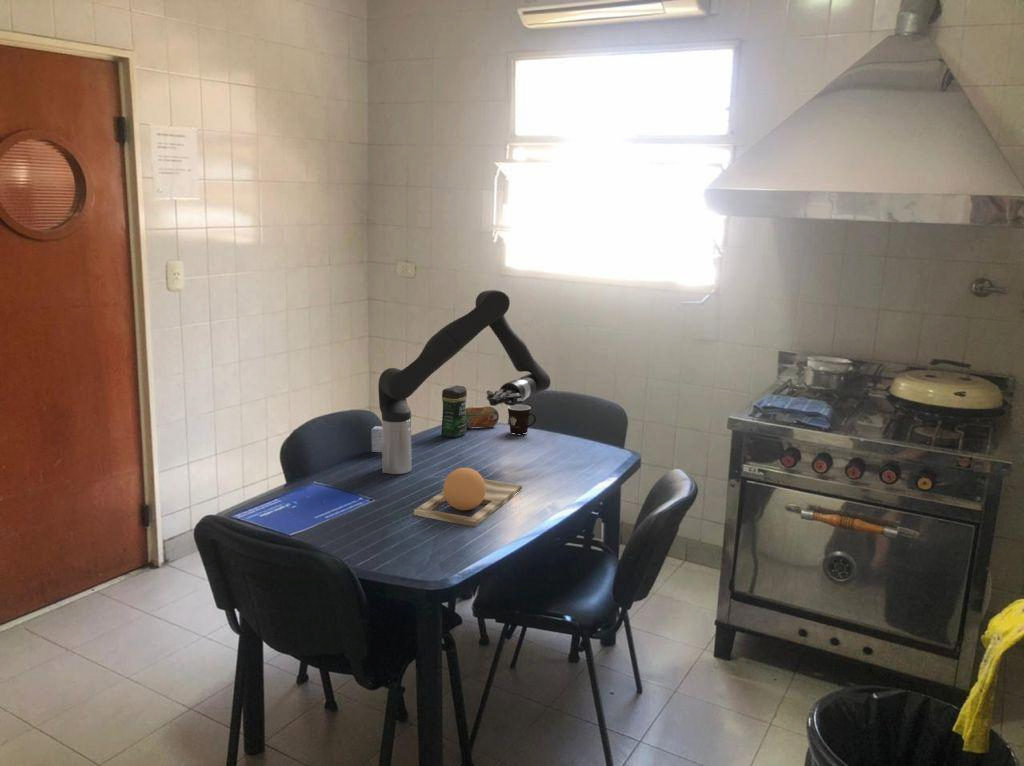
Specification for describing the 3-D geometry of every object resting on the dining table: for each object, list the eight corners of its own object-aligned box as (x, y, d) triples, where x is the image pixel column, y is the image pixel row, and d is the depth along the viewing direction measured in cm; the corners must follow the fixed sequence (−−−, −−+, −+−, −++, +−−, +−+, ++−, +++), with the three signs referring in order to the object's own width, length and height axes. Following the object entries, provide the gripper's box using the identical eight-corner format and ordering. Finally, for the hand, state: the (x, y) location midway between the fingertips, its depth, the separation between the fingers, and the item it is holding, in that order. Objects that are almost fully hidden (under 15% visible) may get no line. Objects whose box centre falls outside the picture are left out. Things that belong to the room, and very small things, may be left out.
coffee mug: (503, 431, 308) (504, 405, 306) (524, 428, 312) (524, 403, 310) (516, 439, 298) (517, 413, 296) (537, 436, 301) (538, 411, 299)
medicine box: (397, 450, 282) (396, 426, 280) (394, 454, 277) (393, 430, 276) (375, 449, 283) (374, 425, 281) (371, 453, 278) (371, 429, 276)
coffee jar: (456, 439, 296) (456, 390, 292) (438, 436, 300) (438, 387, 296) (470, 433, 304) (470, 385, 300) (452, 430, 308) (452, 383, 304)
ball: (471, 477, 238) (459, 516, 233) (443, 461, 231) (429, 500, 226) (499, 478, 229) (486, 517, 224) (470, 460, 222) (456, 501, 218)
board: (466, 480, 252) (466, 476, 252) (521, 489, 245) (522, 485, 245) (413, 515, 224) (413, 509, 223) (475, 526, 216) (475, 521, 216)
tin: (460, 429, 309) (461, 408, 308) (459, 427, 312) (459, 406, 311) (498, 427, 313) (499, 406, 312) (496, 425, 316) (497, 404, 315)
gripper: (497, 378, 264) (473, 388, 249) (534, 382, 259) (512, 393, 244) (496, 400, 266) (472, 411, 251) (533, 405, 261) (511, 417, 245)
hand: (492, 402), depth 247 cm, fingers closed
